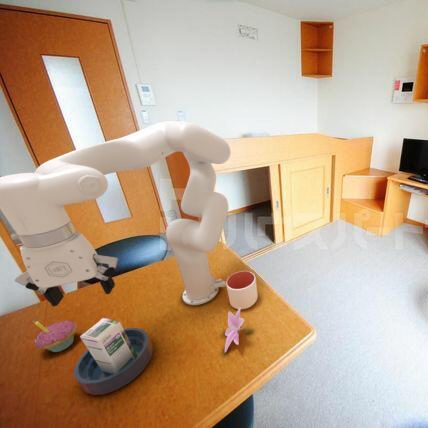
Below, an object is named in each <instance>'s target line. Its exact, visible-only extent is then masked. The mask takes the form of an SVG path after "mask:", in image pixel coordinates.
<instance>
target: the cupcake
mask: <svg viewBox="0 0 428 428" xmlns="http://www.w3.org/2000/svg"><path fill="white" fill-rule="evenodd" d="M32 323H34V325H35V326H37V327H38V328H40V329H41V330H42V331H41V332H39V333H38V334H37V335H36V338H35V339H34V343H33V344H34V346H35V347H36V348H37V349H39V350H48V351H50V352H52V353H58V352H62V351H64V350H65V349H68V348H70V346H71V345H72V344H73V343H74V340H75V339H74V337H75V336H74V335H76V332H77V330H78V325H77V324H76V323H75V322H74V321H70V320H63V321H59V322H55V323H52V324H50V325H48V326H47V327H45V326H44V325H42V324H41V323H40V322H39V321H35V320H33V321H32Z"/></svg>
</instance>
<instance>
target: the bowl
mask: <svg viewBox="0 0 428 428" xmlns="http://www.w3.org/2000/svg"><path fill="white" fill-rule="evenodd" d="M123 329H124V331H125V333H126V335H127V337H128V339H129V341H130V343H131V345H132V346H133V348H134V350H135V352H136V354H137V357H136V358H135V359H134V360H133V361H132V362H131V363H130V364H129V365H127V366H126V367H125V368H123V369H122V370H120V371H118V372H116V373H114V374H110V373H107V372H103V371H102V370H101V368H100V367H99V365H98V364H97V362H96V361H95V359H94V358H93V356H92V354H91V353H90V351H89V350H88V348H87V349H86V350H85V351H84V353H82V355H81V356H80V357H79V358H78V360H77V363H76V364H75V366H74V368H73V369H74V371H73V376H74V378H75V379H76V381H77V383H78V384H79V386H80V387H81V388H82V389H83V392H84V393H86V394H89V395H91V396H100V395H101V396H102V395H107V394H110V393H113V392H116V391H118V390H119V389H121V388H123V387H125V386H127V385H128V384H129V383H131V382H132V381H133V380H135V379H136V378H137V377H139V375H140V374H141V373H142V372H143V371H144V370H145V369H146V368H147V367H148V365H149V363H150V361H151V359H152V357H153V353H154V347H153V343H152V342H151V339H150V336H149V334H148V333H147V332H146V331H145V330H144V329H142V328H138V327H126V328H123Z"/></svg>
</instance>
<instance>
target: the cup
mask: <svg viewBox="0 0 428 428" xmlns="http://www.w3.org/2000/svg"><path fill="white" fill-rule="evenodd" d="M225 282H226V286H225V287H226V291H227V296H228V300H229V301H228V302H229V304H230V306H231V307H232V308H234V309H235V310H238V309H239V308H240V307H241V310H246V309H248V308H250V307H253V305H254V304H256V303H257V300H258V297H259V294H258V288H257V287H258V286H257V279H256V275H255V274H254V273H253V272H252V271H249V270H240V271H237V272H234V273H233V274H231V275H229V277H228V278H227V279H226V280H225Z"/></svg>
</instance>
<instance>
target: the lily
mask: <svg viewBox="0 0 428 428" xmlns="http://www.w3.org/2000/svg"><path fill="white" fill-rule="evenodd" d="M241 310H242V309H241V307H240V308H239V309H237V311H236V313H235V315H234V313H232V312H231V310H228V314H227V326H228V327H227V328H226V330H225V332H224V336H226V339H225V343H224V354H225V353H227V351H228V349H229V347H230V345H231V343H232V342H234V343H235V345H237V346H239V342H240V341H239V333H240V331H241V330H244V331H246V332H248V333H251V331H249V330H248V329H246V328H243V327H242V325H243V324H244V322H245V318H242V317H241V316H240V315H241Z"/></svg>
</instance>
